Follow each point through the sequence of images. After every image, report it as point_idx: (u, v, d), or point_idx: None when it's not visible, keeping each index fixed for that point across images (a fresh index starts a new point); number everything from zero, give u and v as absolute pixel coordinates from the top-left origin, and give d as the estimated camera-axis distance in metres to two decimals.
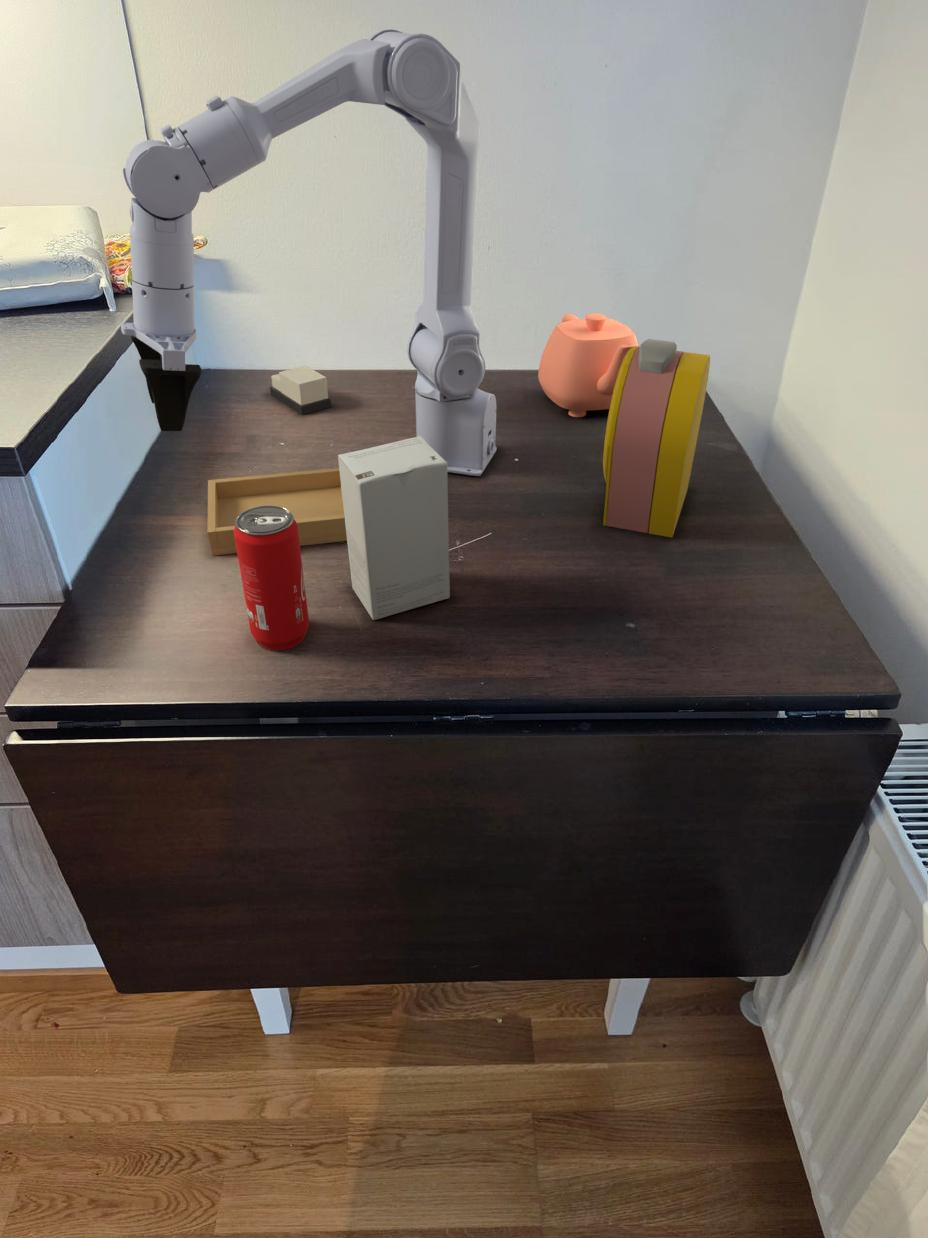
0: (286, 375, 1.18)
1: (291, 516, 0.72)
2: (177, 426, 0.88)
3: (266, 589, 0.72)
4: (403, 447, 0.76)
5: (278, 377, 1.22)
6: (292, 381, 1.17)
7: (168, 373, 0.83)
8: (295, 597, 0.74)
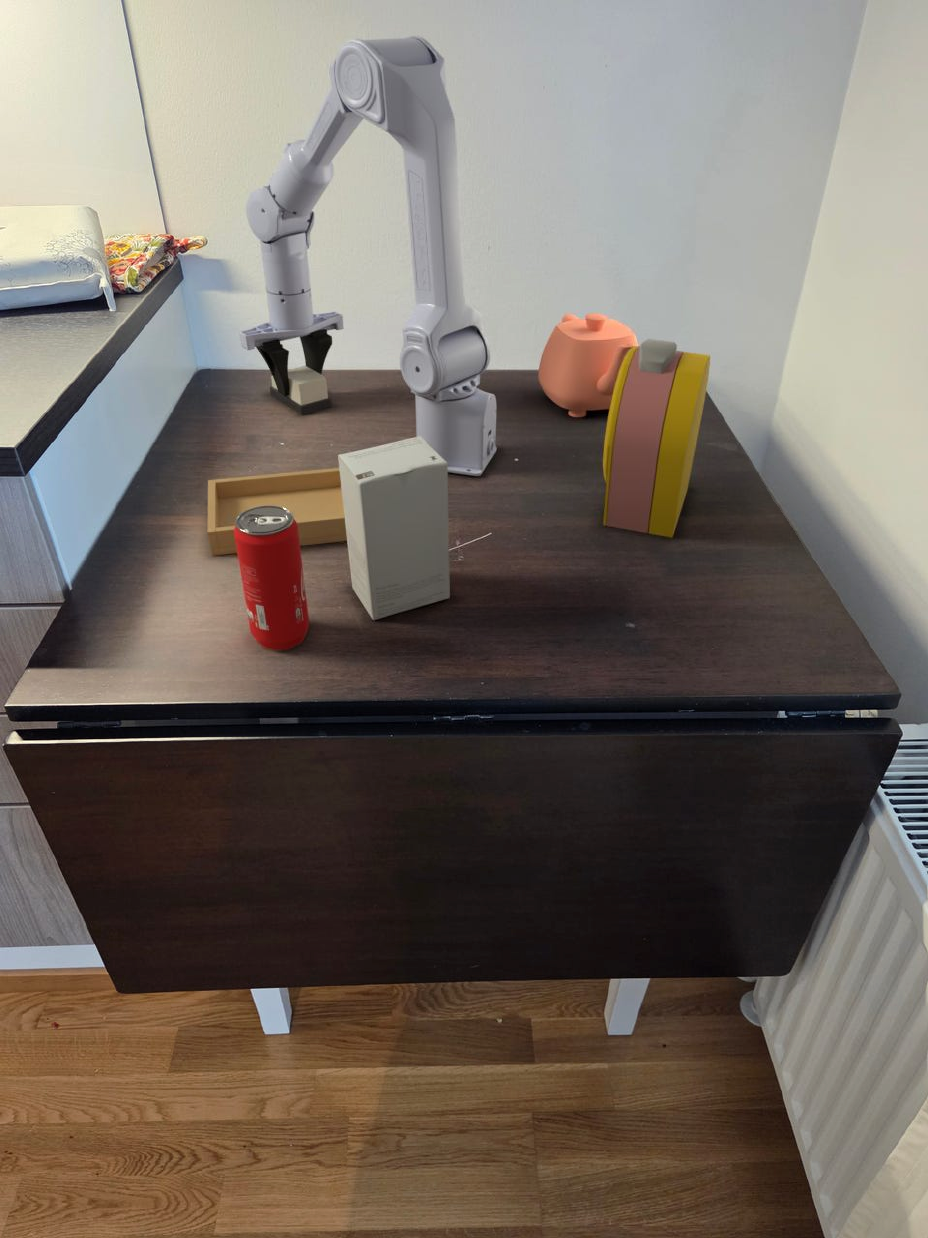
0: None
1: (291, 516, 0.72)
2: (282, 392, 1.19)
3: (266, 589, 0.72)
4: (403, 447, 0.76)
5: None
6: (292, 381, 1.17)
7: (261, 348, 1.15)
8: (295, 597, 0.74)
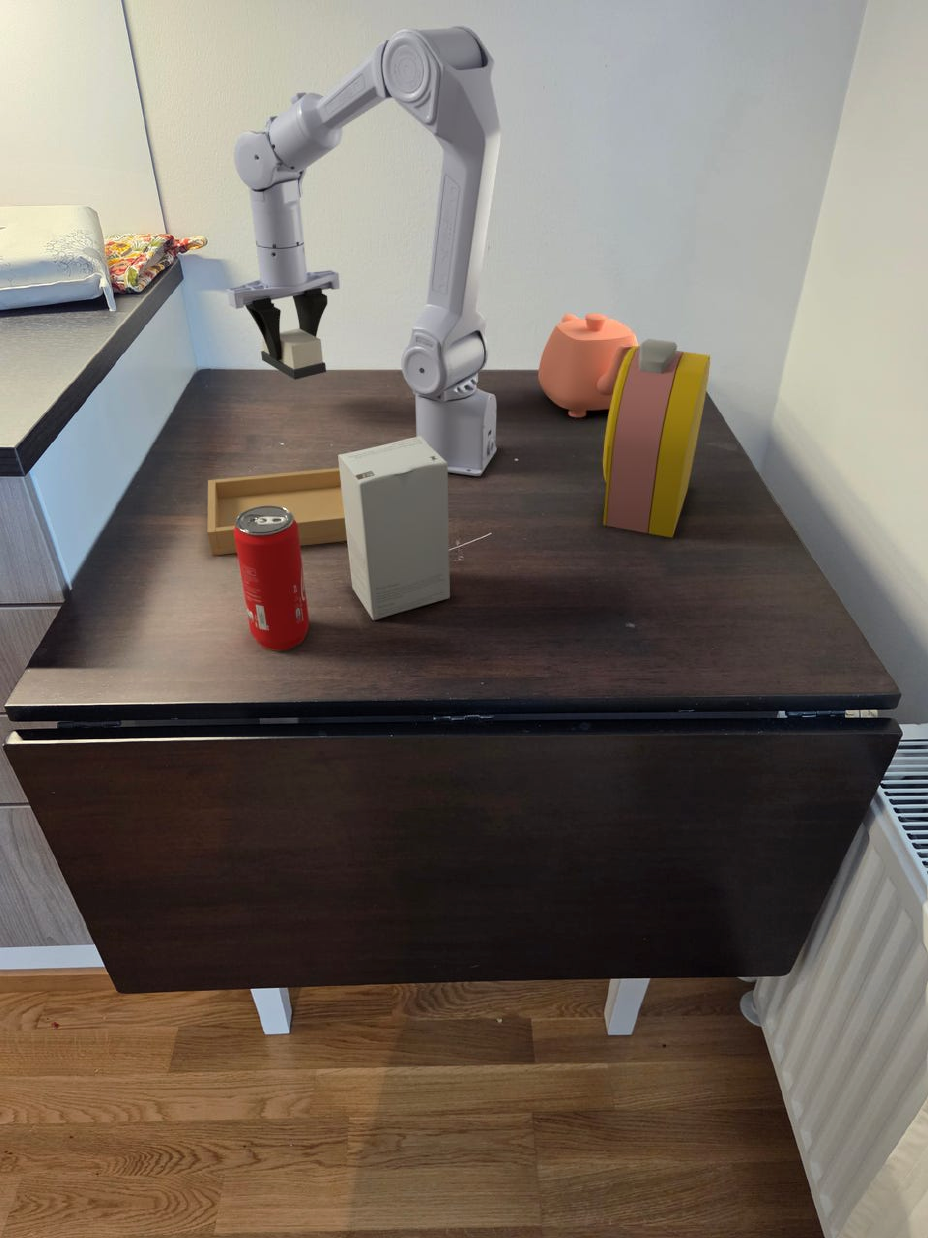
0: None
1: (291, 516, 0.72)
2: (274, 355, 1.11)
3: (266, 589, 0.72)
4: (403, 447, 0.76)
5: None
6: (284, 343, 1.09)
7: (251, 307, 1.07)
8: (295, 597, 0.74)
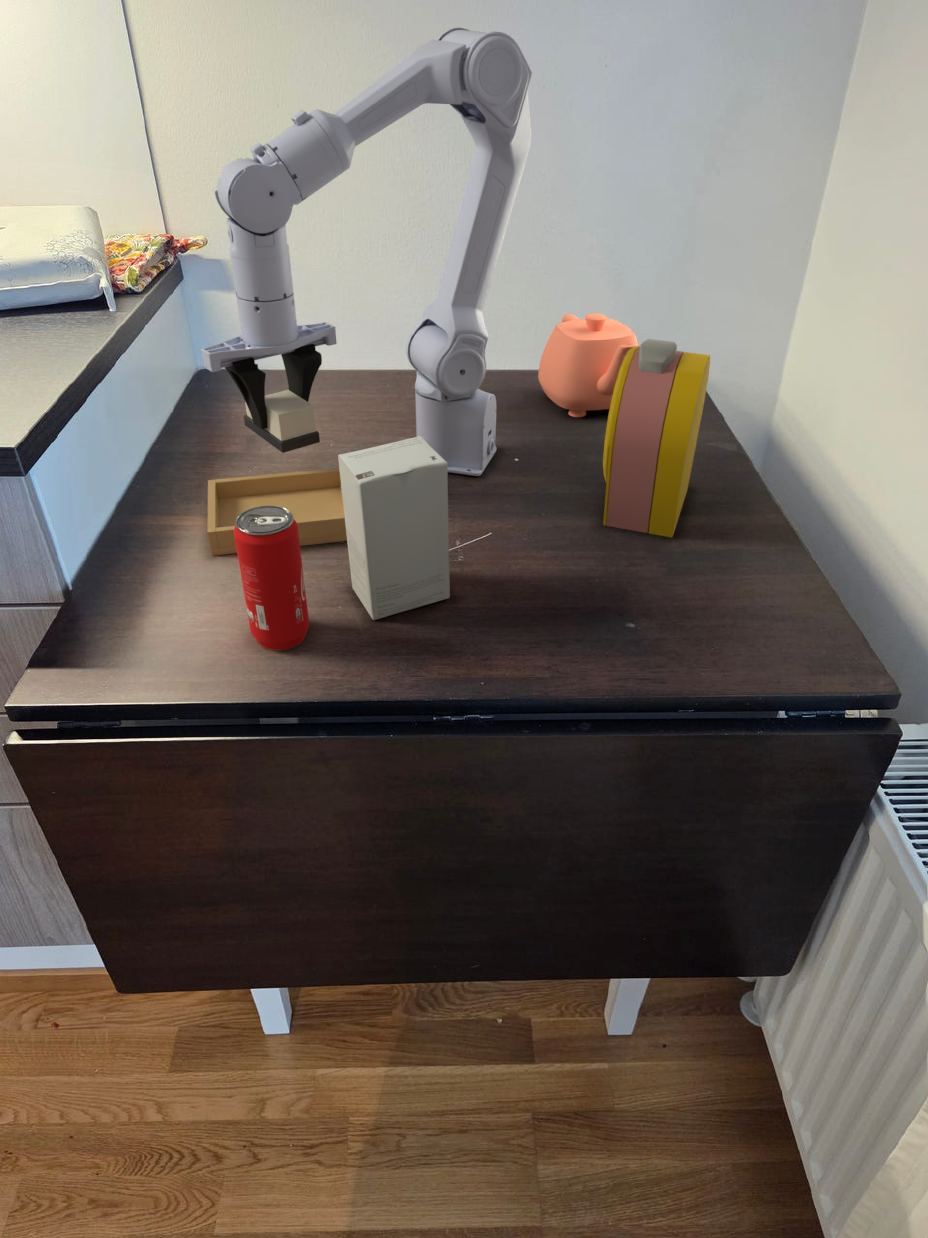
0: None
1: (291, 516, 0.72)
2: (259, 423, 0.94)
3: (266, 589, 0.72)
4: (403, 447, 0.76)
5: None
6: (270, 411, 0.92)
7: (230, 369, 0.90)
8: (295, 598, 0.74)
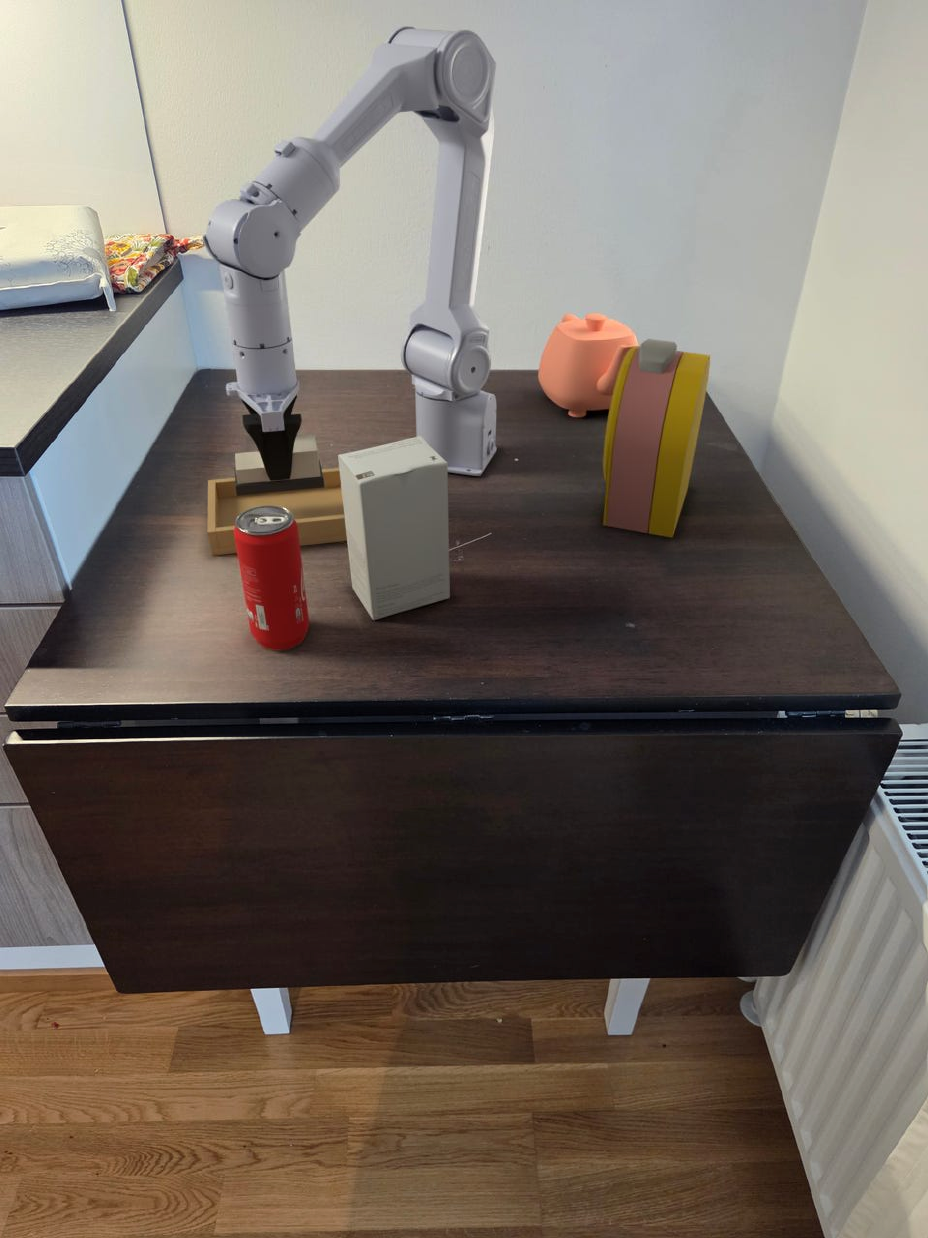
0: None
1: (291, 516, 0.72)
2: (285, 475, 0.89)
3: (266, 589, 0.72)
4: (403, 447, 0.76)
5: (247, 466, 0.89)
6: (299, 453, 0.89)
7: (269, 427, 0.84)
8: (295, 598, 0.74)
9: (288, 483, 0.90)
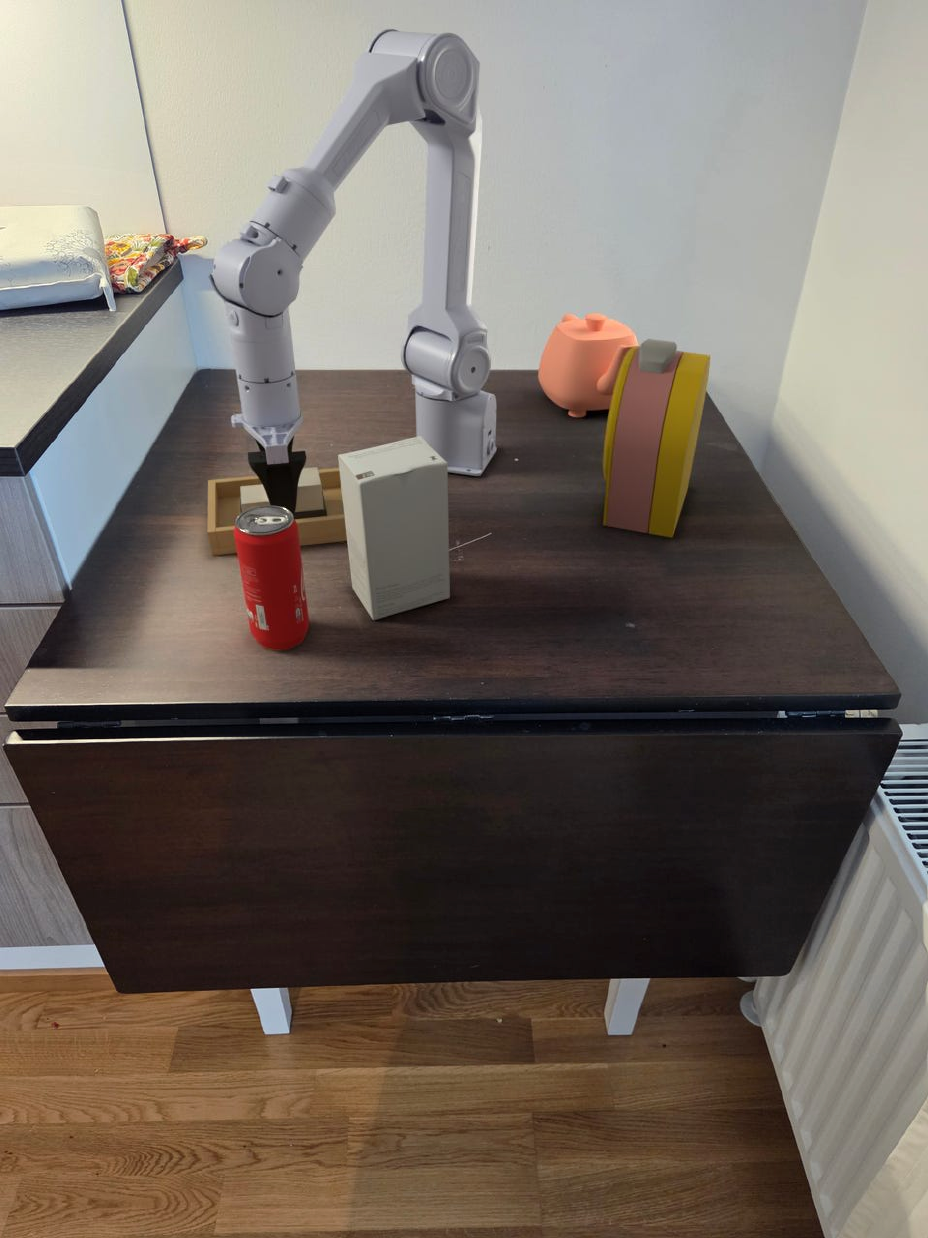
0: None
1: (291, 516, 0.72)
2: (290, 510, 0.90)
3: (266, 589, 0.72)
4: (403, 447, 0.76)
5: (253, 500, 0.91)
6: (303, 487, 0.91)
7: (274, 465, 0.85)
8: (295, 597, 0.74)
9: None
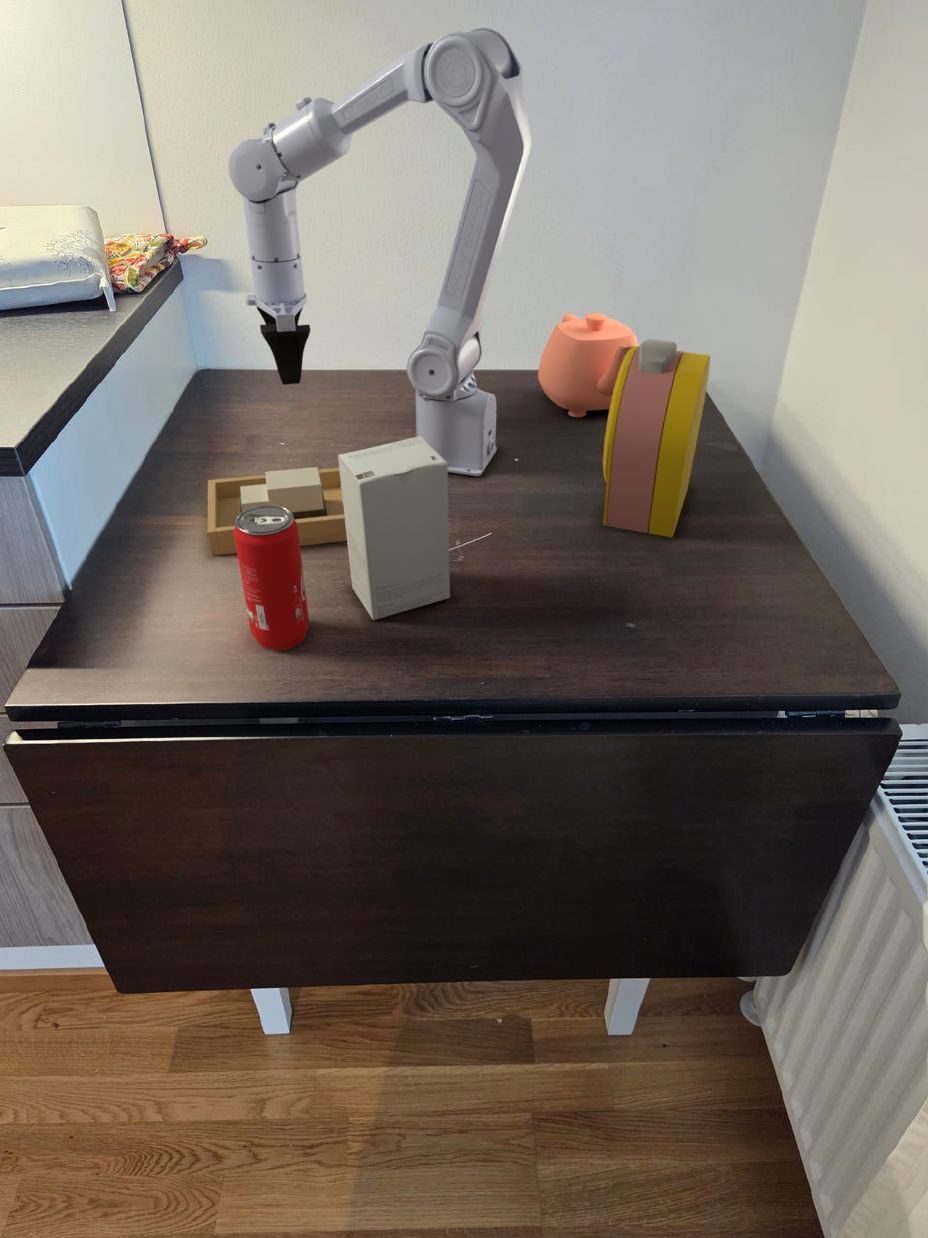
0: (284, 487, 0.91)
1: (291, 516, 0.72)
2: (295, 379, 1.04)
3: (266, 589, 0.72)
4: (403, 447, 0.76)
5: (253, 500, 0.91)
6: (303, 487, 0.91)
7: (282, 334, 0.99)
8: (295, 597, 0.74)
9: None
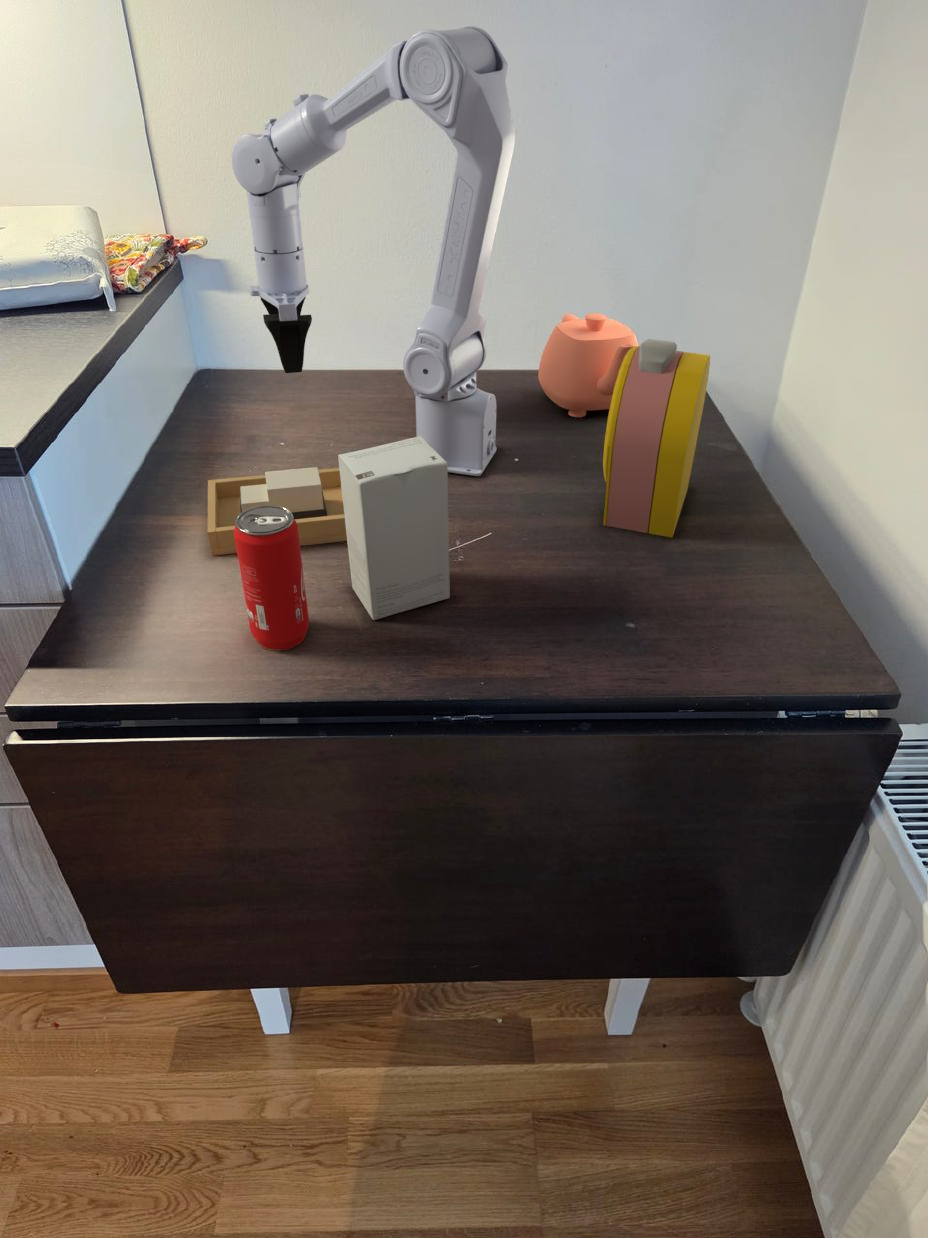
0: (284, 487, 0.91)
1: (291, 516, 0.72)
2: (297, 368, 1.08)
3: (266, 589, 0.72)
4: (403, 447, 0.76)
5: (253, 500, 0.91)
6: (303, 487, 0.91)
7: (285, 323, 1.02)
8: (295, 597, 0.74)
9: None
